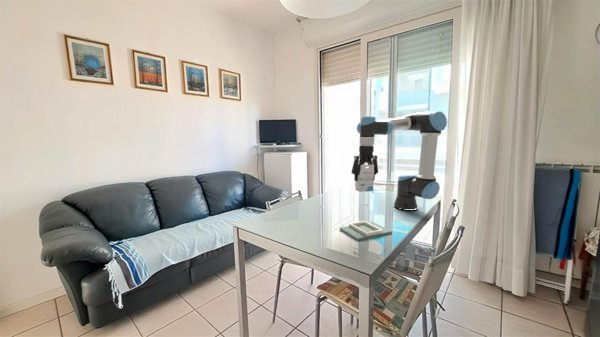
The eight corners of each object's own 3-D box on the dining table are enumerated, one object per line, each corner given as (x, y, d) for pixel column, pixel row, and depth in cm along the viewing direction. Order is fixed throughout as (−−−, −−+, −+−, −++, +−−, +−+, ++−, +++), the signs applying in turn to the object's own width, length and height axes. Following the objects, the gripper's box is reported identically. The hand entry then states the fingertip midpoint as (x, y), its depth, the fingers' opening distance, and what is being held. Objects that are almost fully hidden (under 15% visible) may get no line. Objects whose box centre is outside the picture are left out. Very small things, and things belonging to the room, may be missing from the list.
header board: (372, 223, 141) (372, 219, 140) (391, 233, 127) (392, 228, 127) (339, 229, 132) (340, 224, 131) (357, 240, 118) (357, 235, 118)
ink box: (368, 189, 140) (370, 163, 138) (373, 191, 135) (375, 164, 133) (354, 189, 138) (356, 163, 136) (359, 191, 133) (360, 164, 131)
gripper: (377, 145, 141) (375, 183, 144) (345, 145, 132) (343, 186, 135) (387, 145, 134) (384, 186, 137) (353, 145, 125) (351, 189, 128)
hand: (364, 186), depth 136 cm, fingers closed on ink box, 9 cm apart
